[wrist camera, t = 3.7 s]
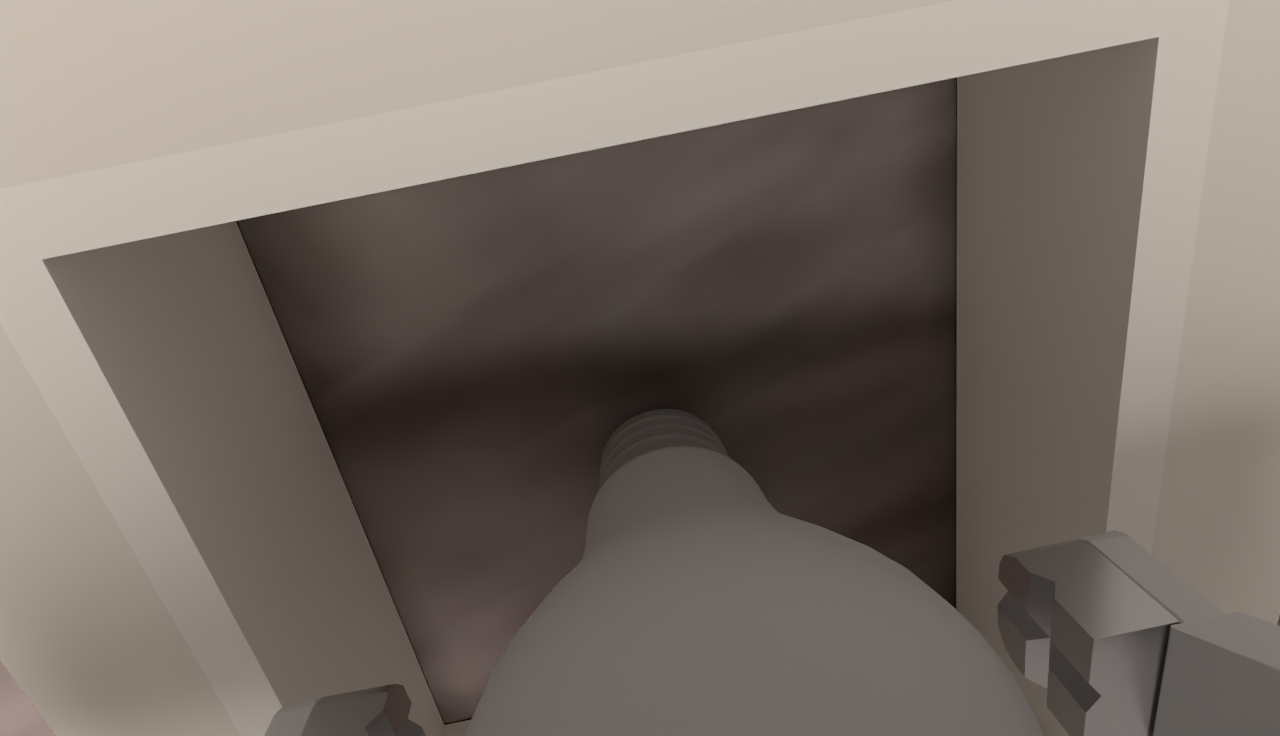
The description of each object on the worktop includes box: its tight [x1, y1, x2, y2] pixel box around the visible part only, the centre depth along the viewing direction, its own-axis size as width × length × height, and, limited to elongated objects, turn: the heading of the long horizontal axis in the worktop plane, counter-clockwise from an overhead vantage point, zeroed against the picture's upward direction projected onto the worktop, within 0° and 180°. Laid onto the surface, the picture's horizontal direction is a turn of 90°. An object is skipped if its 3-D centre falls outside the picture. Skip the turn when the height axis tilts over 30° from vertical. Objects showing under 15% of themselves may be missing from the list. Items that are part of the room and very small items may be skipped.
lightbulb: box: [465, 409, 1046, 736], centre depth 9 cm, size 6×6×11 cm
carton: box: [0, 0, 1280, 736], centre depth 12 cm, size 20×20×4 cm
